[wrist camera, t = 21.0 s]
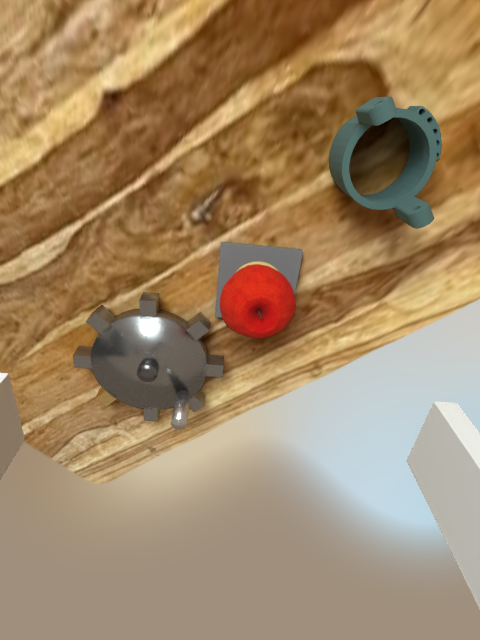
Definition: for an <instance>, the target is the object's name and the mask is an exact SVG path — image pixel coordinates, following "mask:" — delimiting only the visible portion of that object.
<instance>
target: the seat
mask: <svg viewBox="0 0 480 640" xmlns="http://www.w3.org/2000/svg"><path fill="white" fill-rule="evenodd" d="M302 254H303V252H302V250H301V249H293V248H282V247H271V246H260V245H250V244H239V243H228V242H221V250H220V262H219V275H218V287H217V299H216V312H215V317H219V318H222V316H221V311H220V306H219V305H220V296H221V292H222V290H223V287H224V285H225V284H226V282H227V281H228V280H229V279H230V278H231V277H232V276H233V274H235V273H236V272H237V271H238V270H239V269H241V268H244V267H246V266H248V265H254V264H260V265H265V266H269V267H271V268H273V269H275V270H277V271H279V272H280V273H281V274H283V275H284V276H285V277H286V279H287V280H288V281H289V283H290V284H291V286H292V288H293V291H294V296H295V290H296V285H297V280H298V275H299V270H300V264H301V259H302Z"/></svg>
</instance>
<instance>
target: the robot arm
mask: <svg viewBox="0 0 480 640" xmlns="http://www.w3.org/2000/svg"><path fill="white" fill-rule="evenodd" d="M24 440H25V438H24V434H23V430H22V426H21V422H20V418H19V414H18V410H17V406H16V402H15V398H14V394H13V390H12V385H11V381H10V377H9V373H0V479H1V478H2V476H3V474H4V473H5V471H6V469H7V468H8V466H9V464H10V463H11V461H12V459H13V458H14V456H15V455H16V453H17V452H18V450H19V448H20V447H21V445H22V443H23V442H24ZM407 463H408V465H409V467H410V469H411V471H412V473H413V475H414V477H415V479H416V481H417V483H418V485H419V487H420V489H421V491H422V493H423V495H424V497H425V499H426V501H427V503H428V505H429V507H430V509H431V511H432V514H433V516H434V518H435V520H436V522H437V523H438V526H439V528H440V530H441V532H442V534H443V536H444V538H445V540H446V542H447V544H448V546H449V548H450V550H451V552H452V554H453V556H454V558H455V560H456V562H457V564H458V566H459V568H460V570H461V572H462V574H463V577H464V578H465V580H466V583H467V585H468V587H469V589H470V591H471V593H472V595H473V597H474V599H475V601H476V603H477V605H478V607H479V609H480V434H479V432H478V431H477V430H476V428H475V427H474V426H473V424H472V423H471V422H470V420H469V419H468V418H467V416H466V415H465V414H464V412H463V411H462V410H461V409H460V407H459V406H458V404H457V403H445V402H444V403H443V402H433V405H432V407H431V409H430V411H429V413H428V416H427V418H426V420H425V422H424V424H423V427H422V428H421V430H420V433H419V435H418V437H417V439H416V441H415V443H414V446H413V448H412V450H411V452H410V454H409V456H408V458H407Z"/></svg>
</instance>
